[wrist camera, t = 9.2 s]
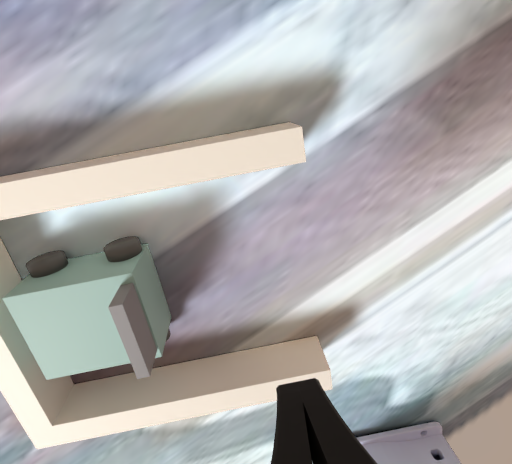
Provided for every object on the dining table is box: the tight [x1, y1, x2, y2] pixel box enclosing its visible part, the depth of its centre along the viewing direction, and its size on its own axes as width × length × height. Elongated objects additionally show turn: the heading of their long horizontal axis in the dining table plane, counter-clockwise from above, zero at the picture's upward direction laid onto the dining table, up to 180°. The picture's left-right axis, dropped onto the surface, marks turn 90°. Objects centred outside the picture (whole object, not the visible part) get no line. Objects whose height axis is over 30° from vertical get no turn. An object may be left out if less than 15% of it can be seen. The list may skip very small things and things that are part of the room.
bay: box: [0, 122, 332, 449], centre depth 18 cm, size 18×15×3 cm
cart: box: [2, 237, 171, 380], centre depth 17 cm, size 6×6×5 cm
